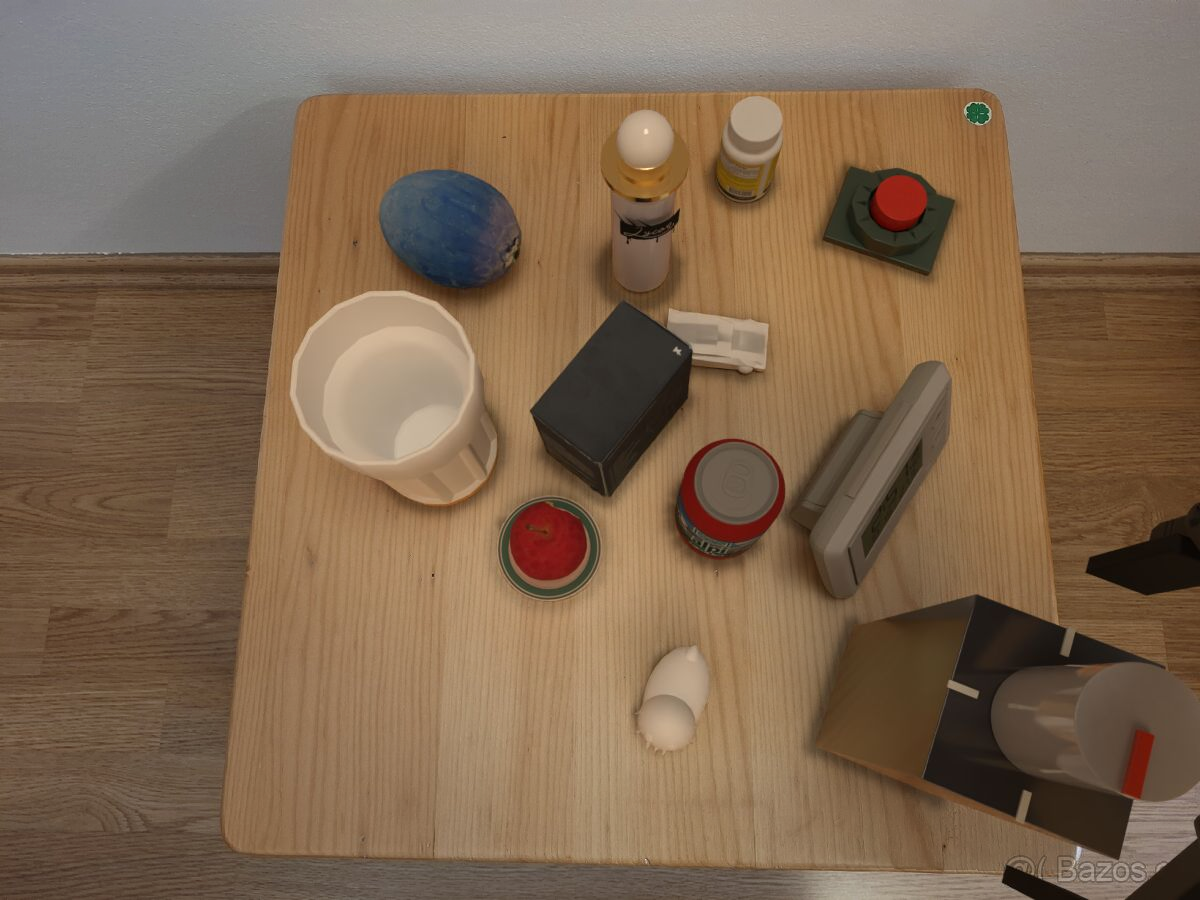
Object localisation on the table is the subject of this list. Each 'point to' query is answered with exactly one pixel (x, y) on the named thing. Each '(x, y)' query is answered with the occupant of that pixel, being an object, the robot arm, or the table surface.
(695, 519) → the beverage can
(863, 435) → the digital clock
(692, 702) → the toy creature
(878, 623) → the pillar
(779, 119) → the supplement bottle
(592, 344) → the box
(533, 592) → the apple
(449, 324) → the cup
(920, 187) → the button
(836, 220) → the button box
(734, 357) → the toy car
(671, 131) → the perfume bottle
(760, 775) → the table surface
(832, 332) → the table surface
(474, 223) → the blue plum
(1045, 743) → the hob knob
